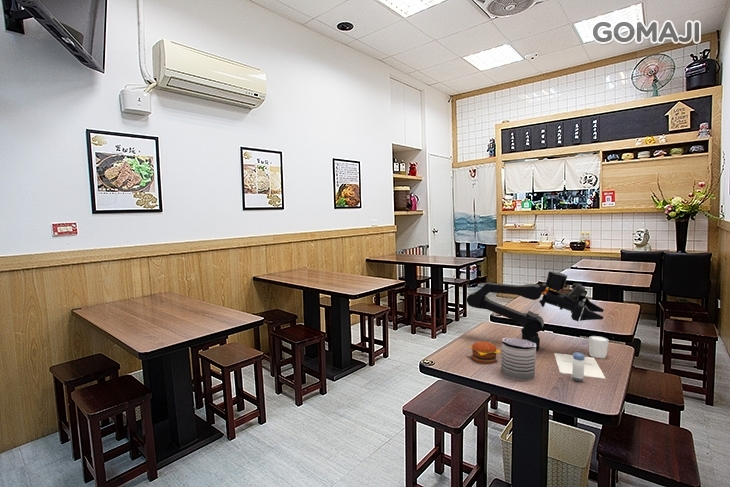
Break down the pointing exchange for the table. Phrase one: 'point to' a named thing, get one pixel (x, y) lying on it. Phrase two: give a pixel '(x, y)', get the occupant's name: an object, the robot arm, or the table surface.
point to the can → (518, 359)
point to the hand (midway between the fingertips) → (603, 314)
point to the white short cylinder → (598, 346)
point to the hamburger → (484, 352)
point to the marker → (578, 366)
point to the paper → (589, 366)
